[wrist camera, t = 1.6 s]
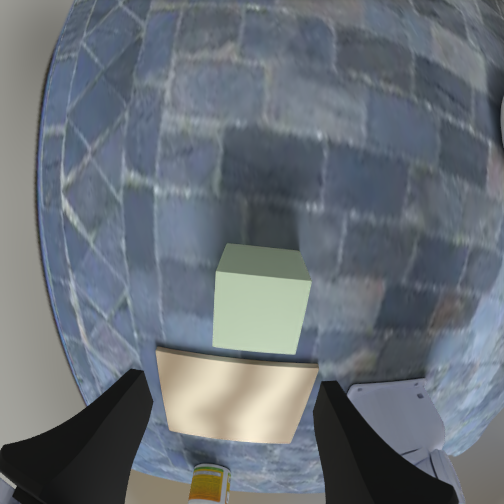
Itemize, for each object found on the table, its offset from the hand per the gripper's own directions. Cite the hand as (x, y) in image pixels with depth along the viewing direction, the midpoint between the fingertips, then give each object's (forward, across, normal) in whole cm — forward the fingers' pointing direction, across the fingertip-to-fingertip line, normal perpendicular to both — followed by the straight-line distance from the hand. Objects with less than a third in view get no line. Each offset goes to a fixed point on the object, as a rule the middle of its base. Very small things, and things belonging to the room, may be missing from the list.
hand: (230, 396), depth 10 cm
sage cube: (+10, -1, 0) cm, 11 cm away
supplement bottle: (+11, +4, +31) cm, 33 cm away
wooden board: (+10, +1, +14) cm, 17 cm away
